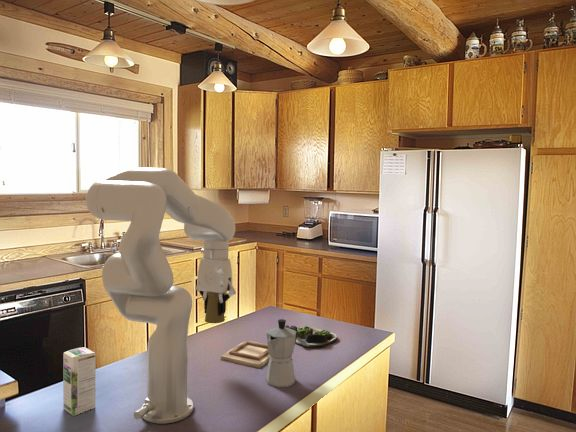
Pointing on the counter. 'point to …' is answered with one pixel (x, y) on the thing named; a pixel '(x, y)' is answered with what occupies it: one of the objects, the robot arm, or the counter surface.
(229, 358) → the maple board
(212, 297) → the cork
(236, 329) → the counter surface
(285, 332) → the coffee maker
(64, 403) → the syrup box
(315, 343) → the salad plate
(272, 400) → the counter surface
